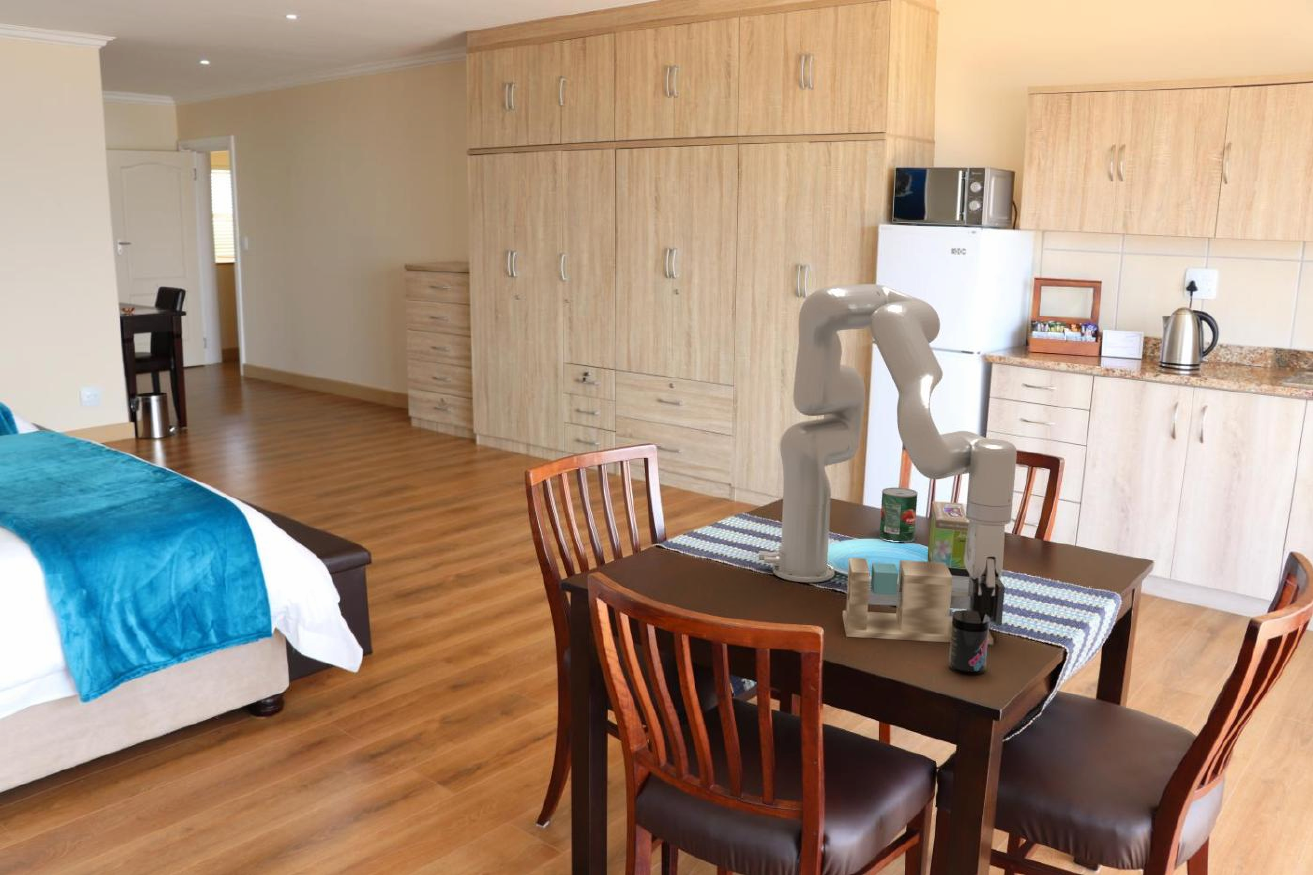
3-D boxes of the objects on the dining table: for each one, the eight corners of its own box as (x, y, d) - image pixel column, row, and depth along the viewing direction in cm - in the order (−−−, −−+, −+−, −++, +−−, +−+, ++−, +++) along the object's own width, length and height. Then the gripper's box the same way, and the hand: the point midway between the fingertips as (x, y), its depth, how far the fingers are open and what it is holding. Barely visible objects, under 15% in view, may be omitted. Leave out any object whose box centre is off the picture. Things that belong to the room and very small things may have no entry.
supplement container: (962, 678, 172) (967, 625, 170) (940, 664, 177) (944, 612, 175) (993, 673, 174) (997, 620, 172) (970, 659, 179) (974, 608, 177)
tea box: (981, 595, 210) (987, 522, 206) (928, 591, 211) (933, 518, 208) (975, 571, 224) (980, 502, 221) (925, 567, 226) (930, 499, 223)
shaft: (852, 617, 189) (854, 579, 187) (849, 603, 195) (851, 566, 194) (1001, 625, 186) (1004, 587, 185) (993, 610, 193) (996, 573, 192)
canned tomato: (878, 532, 250) (881, 486, 248) (912, 534, 249) (915, 488, 247) (880, 542, 242) (883, 495, 240) (916, 544, 241) (919, 496, 239)
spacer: (873, 593, 188) (874, 572, 188) (870, 584, 193) (872, 563, 192) (896, 595, 188) (898, 573, 187) (893, 585, 193) (894, 564, 192)
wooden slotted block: (846, 636, 188) (849, 573, 186) (842, 615, 198) (845, 555, 195) (992, 644, 185) (998, 581, 183) (981, 623, 195) (986, 562, 193)
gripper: (958, 497, 194) (950, 593, 198) (975, 523, 178) (967, 628, 182) (1001, 499, 194) (992, 595, 197) (1022, 525, 177) (1012, 630, 181)
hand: (980, 610), depth 190 cm, fingers closed on shaft, 4 cm apart
